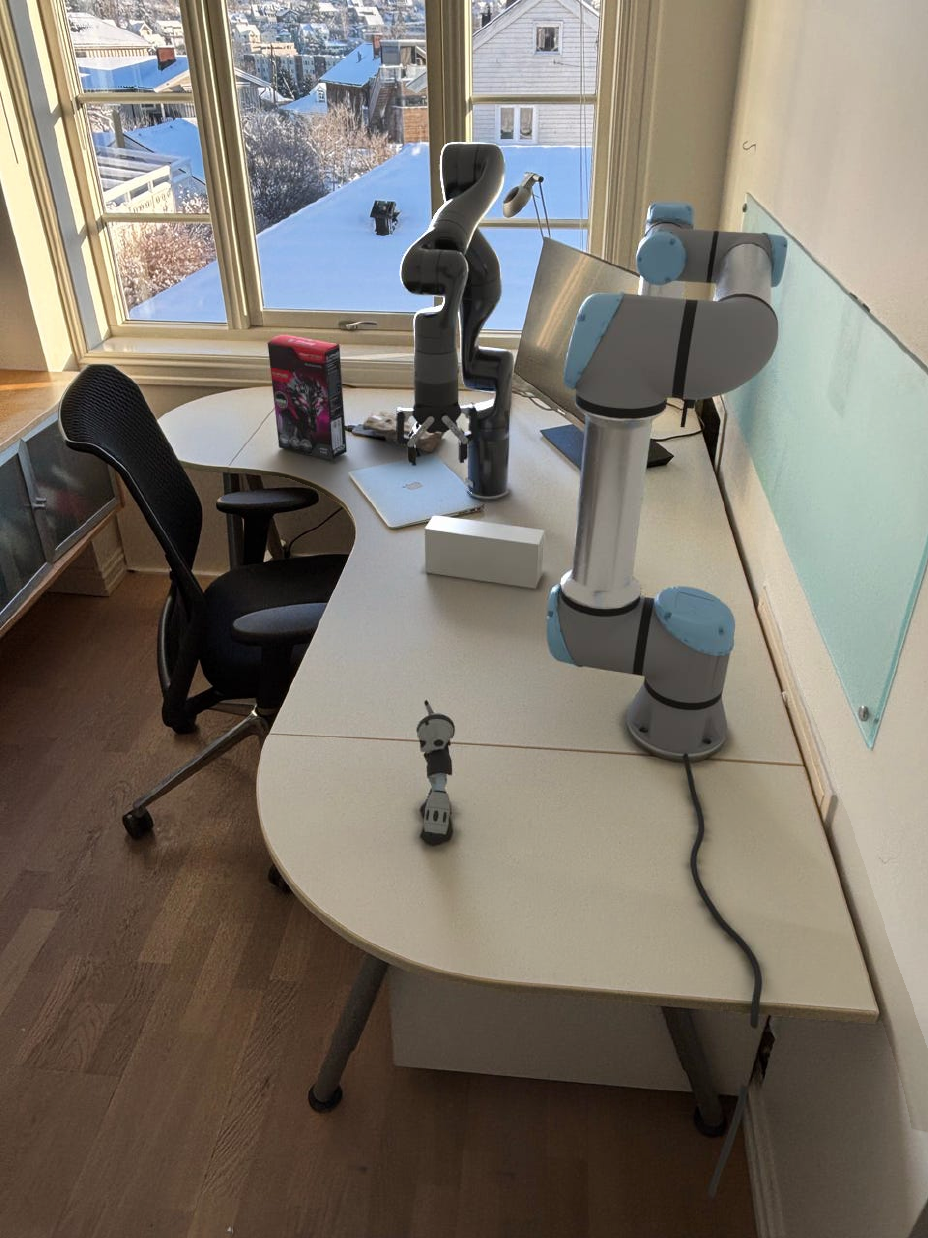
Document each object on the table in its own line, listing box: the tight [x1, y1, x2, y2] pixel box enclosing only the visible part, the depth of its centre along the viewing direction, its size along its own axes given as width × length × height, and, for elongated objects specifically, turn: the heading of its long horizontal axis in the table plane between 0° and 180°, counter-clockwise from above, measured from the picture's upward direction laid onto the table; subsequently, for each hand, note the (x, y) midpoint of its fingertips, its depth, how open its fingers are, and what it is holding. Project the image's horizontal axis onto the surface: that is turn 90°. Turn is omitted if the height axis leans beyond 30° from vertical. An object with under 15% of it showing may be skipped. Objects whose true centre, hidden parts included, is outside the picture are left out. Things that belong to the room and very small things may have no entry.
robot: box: [415, 699, 456, 846], centre depth 121 cm, size 20×5×20 cm, turn 3°
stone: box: [362, 411, 446, 453], centre depth 234 cm, size 21×15×6 cm
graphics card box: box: [267, 333, 348, 461], centre depth 223 cm, size 17×7×27 cm, turn 62°
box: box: [424, 514, 546, 590], centre depth 179 cm, size 22×6×10 cm, turn 75°
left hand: (437, 462), depth 164 cm, fingers open, 8 cm apart
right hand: (645, 420), depth 168 cm, fingers open, 13 cm apart
